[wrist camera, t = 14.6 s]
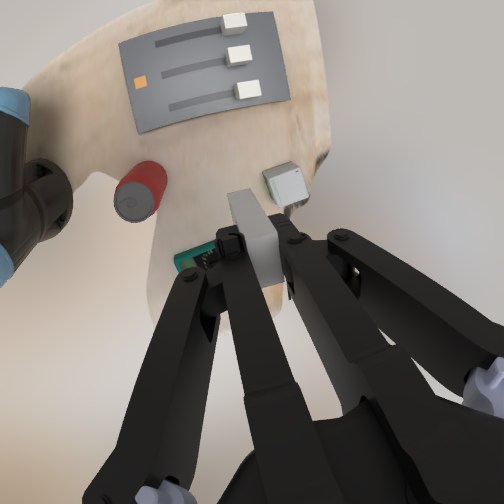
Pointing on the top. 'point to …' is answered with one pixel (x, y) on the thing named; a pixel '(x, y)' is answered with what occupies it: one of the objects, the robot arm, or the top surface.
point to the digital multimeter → (197, 257)
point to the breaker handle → (238, 55)
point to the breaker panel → (202, 69)
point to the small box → (286, 184)
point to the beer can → (140, 192)
